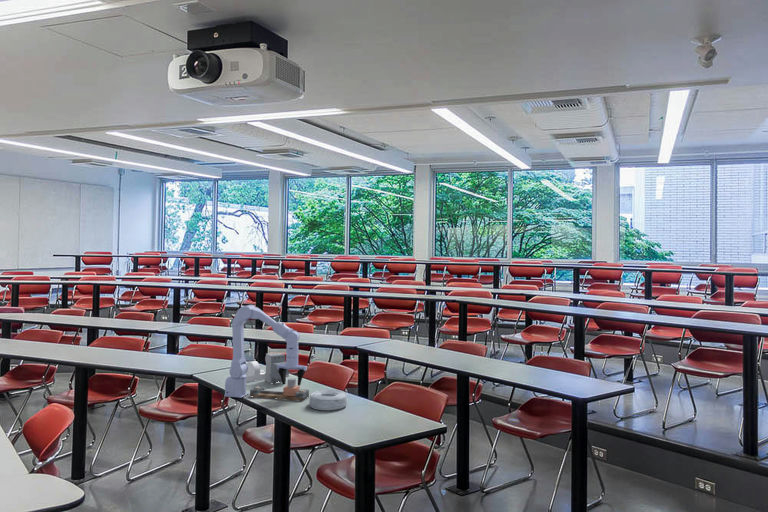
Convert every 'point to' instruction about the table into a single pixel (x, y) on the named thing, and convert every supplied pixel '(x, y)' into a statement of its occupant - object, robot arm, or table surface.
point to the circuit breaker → (274, 367)
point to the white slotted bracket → (254, 372)
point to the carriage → (291, 388)
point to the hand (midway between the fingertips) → (291, 384)
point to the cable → (328, 399)
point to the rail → (278, 394)
